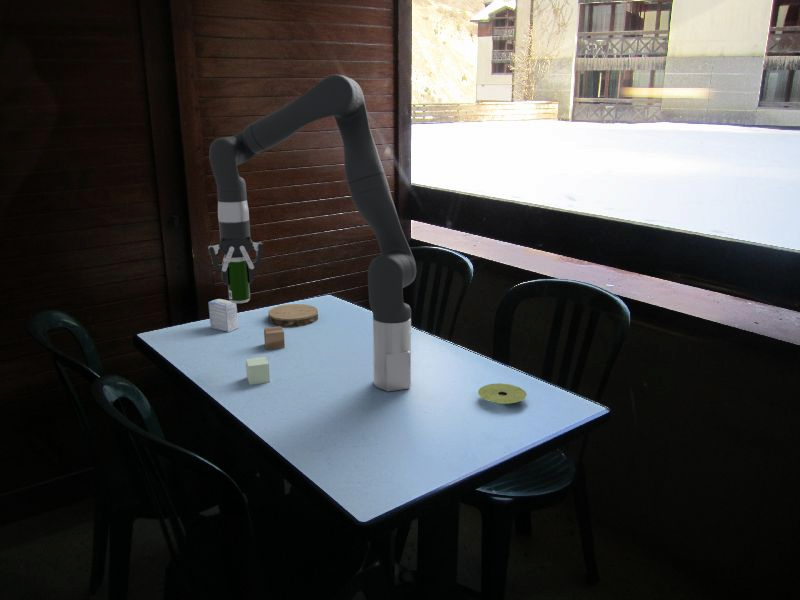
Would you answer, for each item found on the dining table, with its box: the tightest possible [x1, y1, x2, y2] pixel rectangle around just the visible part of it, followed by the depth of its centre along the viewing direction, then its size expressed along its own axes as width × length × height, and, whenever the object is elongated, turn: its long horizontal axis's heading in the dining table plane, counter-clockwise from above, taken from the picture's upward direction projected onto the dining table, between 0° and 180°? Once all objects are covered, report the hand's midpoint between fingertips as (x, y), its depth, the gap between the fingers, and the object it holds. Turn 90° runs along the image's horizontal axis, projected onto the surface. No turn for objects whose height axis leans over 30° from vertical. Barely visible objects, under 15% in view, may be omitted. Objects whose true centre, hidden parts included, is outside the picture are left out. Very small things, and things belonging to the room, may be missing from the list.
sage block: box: [245, 356, 271, 386], centre depth 166 cm, size 5×5×5 cm
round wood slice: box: [267, 303, 319, 328], centre depth 214 cm, size 16×16×3 cm
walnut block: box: [263, 326, 286, 351], centre depth 189 cm, size 5×5×5 cm
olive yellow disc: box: [477, 382, 528, 405], centre depth 154 cm, size 11×11×2 cm
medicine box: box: [208, 298, 239, 333], centre depth 204 cm, size 8×4×9 cm, turn 58°
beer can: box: [227, 256, 251, 304], centre depth 170 cm, size 5×5×12 cm
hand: (238, 283), depth 170 cm, fingers closed on beer can, 5 cm apart
